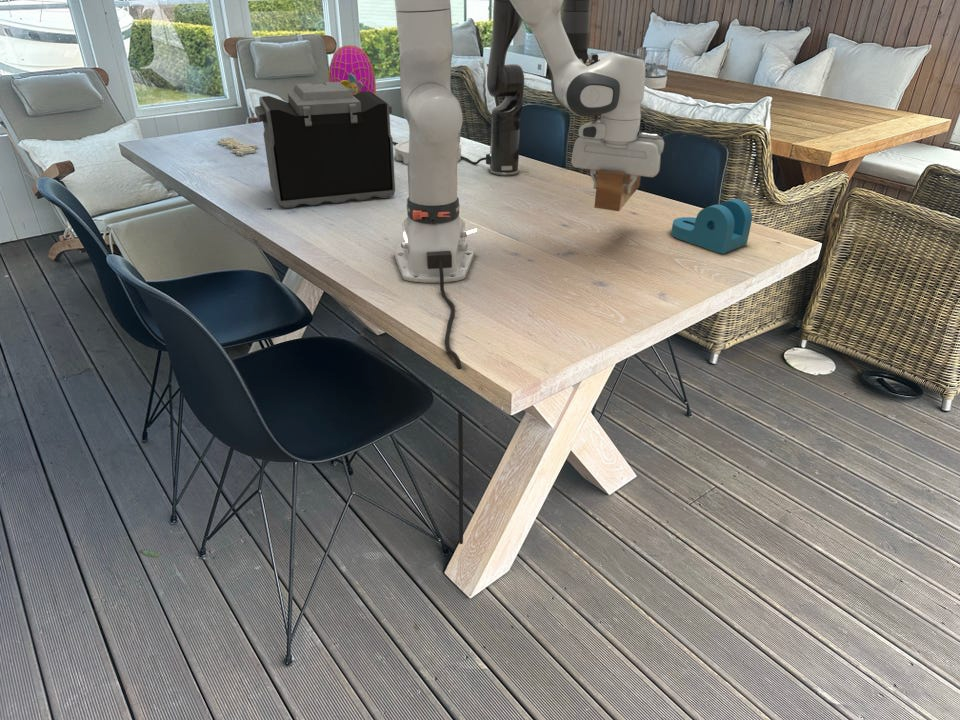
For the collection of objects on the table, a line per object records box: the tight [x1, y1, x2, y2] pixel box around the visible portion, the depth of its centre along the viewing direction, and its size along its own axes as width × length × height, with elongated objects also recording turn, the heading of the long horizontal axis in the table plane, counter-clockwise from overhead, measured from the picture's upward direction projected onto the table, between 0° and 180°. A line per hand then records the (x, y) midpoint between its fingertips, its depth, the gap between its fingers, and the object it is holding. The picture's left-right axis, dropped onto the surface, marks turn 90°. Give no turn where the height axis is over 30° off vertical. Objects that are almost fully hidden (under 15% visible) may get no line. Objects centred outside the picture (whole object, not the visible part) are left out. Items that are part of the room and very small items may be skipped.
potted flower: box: [340, 73, 363, 96], centre depth 255 cm, size 9×8×25 cm
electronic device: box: [254, 81, 396, 209], centre depth 199 cm, size 37×22×30 cm, turn 111°
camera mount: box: [670, 198, 753, 255], centre depth 173 cm, size 18×10×10 cm, turn 39°
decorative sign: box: [217, 136, 259, 156], centre depth 254 cm, size 26×1×10 cm
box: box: [593, 169, 642, 212], centre depth 167 cm, size 22×6×9 cm, turn 157°
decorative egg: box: [328, 44, 377, 96], centre depth 286 cm, size 19×19×30 cm
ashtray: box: [394, 139, 462, 165], centre depth 243 cm, size 23×23×4 cm
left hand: (612, 190), depth 161 cm, fingers closed on box, 6 cm apart
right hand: (570, 95), depth 188 cm, fingers open, 8 cm apart
